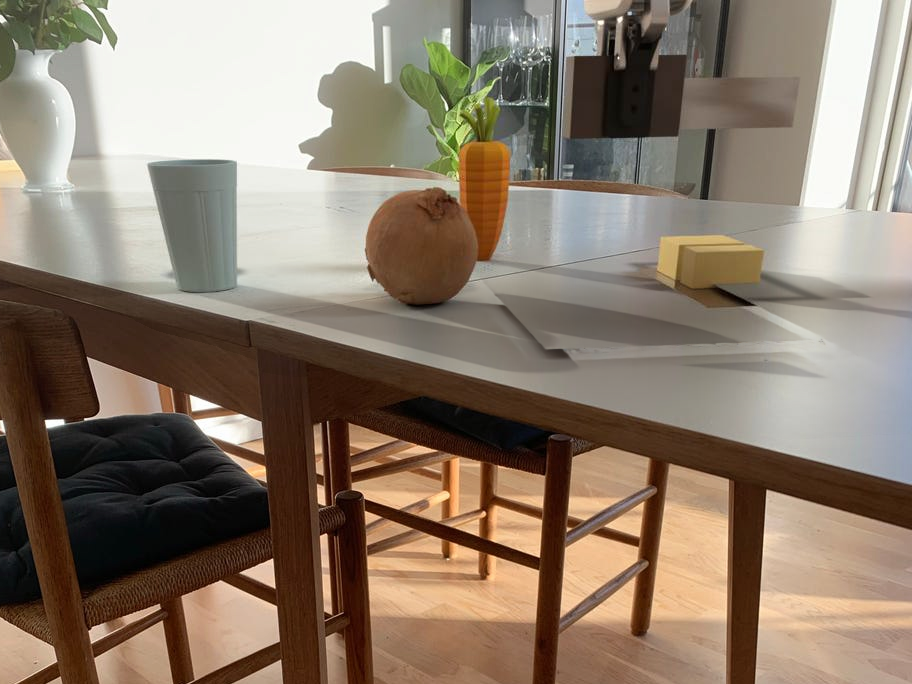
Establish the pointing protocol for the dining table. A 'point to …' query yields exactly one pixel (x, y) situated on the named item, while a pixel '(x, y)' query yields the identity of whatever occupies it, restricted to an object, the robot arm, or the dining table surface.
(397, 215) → the onion
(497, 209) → the carrot
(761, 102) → the knife
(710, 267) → the butter slice
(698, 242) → the butter block
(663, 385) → the dining table surface
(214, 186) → the cup
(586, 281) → the dining table surface
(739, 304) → the butter board
